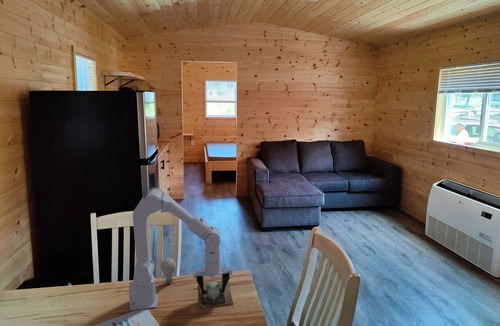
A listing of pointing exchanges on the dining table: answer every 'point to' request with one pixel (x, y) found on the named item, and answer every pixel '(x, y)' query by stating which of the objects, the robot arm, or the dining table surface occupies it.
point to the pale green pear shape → (213, 291)
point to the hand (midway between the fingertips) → (213, 292)
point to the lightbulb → (168, 269)
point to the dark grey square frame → (213, 300)
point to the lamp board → (227, 297)
